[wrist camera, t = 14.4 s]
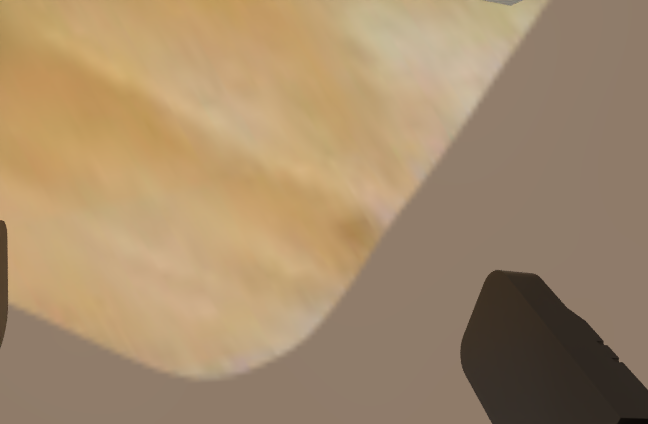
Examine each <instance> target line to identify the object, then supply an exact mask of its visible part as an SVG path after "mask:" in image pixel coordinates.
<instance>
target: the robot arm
mask: <svg viewBox="0 0 648 424" xmlns="http://www.w3.org/2000/svg"><path fill="white" fill-rule="evenodd" d="M7 314H8V256H7V228H6V224H5V222H4V221H2V220H0V347H1V344H2V341H3V337H4V333H5V328H6V322H7ZM460 353H461V364H462V368H463V371H464V373H465V375H466V377H467V379H468V380H469V382H470V384H471V386H472V388H473V389H474V391H475V393H476V395H477V397H478V399H479V400H480V402H481V404H482V406H483V408H484V409H485V411H486V413H487V415H488V417H489V419H490V420H491V422H492V424H648V390H647V389H646V388H645V386H644V385H643V384H642V383H641V382H640V381H639V380H638V379H637V378H636V376H635V375H634V374H633V373H632V372H631V371H630V370H629V369H628V368H627V366H625V364H624V363H622V362H619V358H618V356H616V354H615V353H614V352H613V351H612V350H611V349H610V348H609V347H608V346H607V345H604V344H603V340H602V339H601V338H600V337H599V335H598V334H597V333H596V332H595V331H594V330H593V329H592V328H591V327H590V325H589V324H588V323H587V322H586V321H585V320H583V319H582V318H581V317H579V316H578V315H576V314H575V313H574V312H572V311H571V310H569V309H568V308H567V307H566V306H565V305H564V304H563V303H562V302H561V300H560V299H559V298H558V297H557V296H556V295H555V294H554V293H553V291H552V290H551V289H550V288H549V287H548V286H547V285H546V284H545V282H544V281H543V280H542V279H541V278H540V277H539V276H538V275H536V274H532V273H522V272H511V271H502V270H495V271H493V272H491V273H490V274H489V275H488V277H487V278H486V280H485V282H484V284H483V287H482V290H481V292H480V295H479V297H478V300H477V302H476V305H475V308H474V310H473V313H472V315H471V318H470V320H469V323H468V326H467V328H466V331H465V333H464V336H463V339H462V343H461V352H460Z"/></svg>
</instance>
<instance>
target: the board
mask: <svg viewBox="0 0 648 424" xmlns="http://www.w3.org/2000/svg"><path fill="white" fill-rule="evenodd" d="M485 1H490V2H495V3H500V4H505V5H510V6H511V5H513V4H516V3H518V2H520V1H522V0H485Z"/></svg>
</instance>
